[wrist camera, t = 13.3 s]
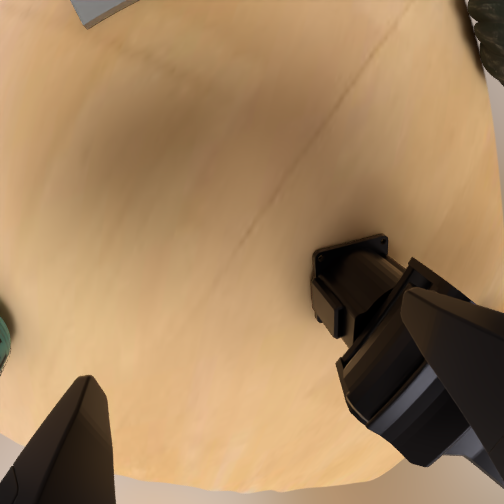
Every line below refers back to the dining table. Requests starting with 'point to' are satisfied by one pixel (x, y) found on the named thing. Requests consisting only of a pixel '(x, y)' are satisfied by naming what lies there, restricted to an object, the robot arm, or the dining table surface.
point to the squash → (490, 34)
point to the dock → (98, 9)
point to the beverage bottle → (4, 343)
